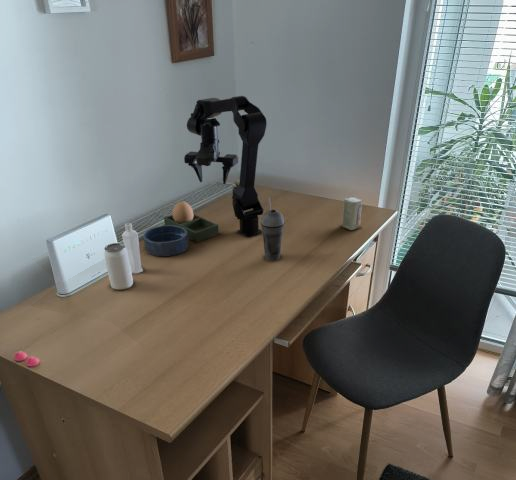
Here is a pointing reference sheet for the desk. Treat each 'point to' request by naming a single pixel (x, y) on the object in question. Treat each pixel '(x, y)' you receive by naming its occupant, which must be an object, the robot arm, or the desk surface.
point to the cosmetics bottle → (352, 213)
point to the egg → (182, 213)
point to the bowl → (166, 240)
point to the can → (118, 266)
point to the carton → (196, 227)
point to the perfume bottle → (132, 248)
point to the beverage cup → (272, 233)
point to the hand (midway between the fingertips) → (212, 183)
